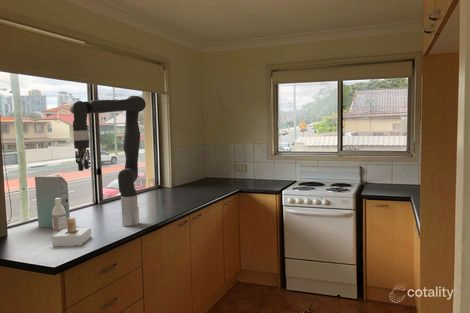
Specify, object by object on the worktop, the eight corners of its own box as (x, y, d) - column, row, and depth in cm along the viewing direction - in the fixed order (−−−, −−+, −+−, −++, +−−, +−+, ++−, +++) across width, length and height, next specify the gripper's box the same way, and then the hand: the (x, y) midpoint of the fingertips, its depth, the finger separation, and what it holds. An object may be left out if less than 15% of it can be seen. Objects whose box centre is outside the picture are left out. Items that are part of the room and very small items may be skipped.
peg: (78, 240, 197) (76, 217, 196) (75, 242, 193) (73, 219, 192) (70, 240, 196) (68, 217, 195) (67, 243, 192) (65, 219, 191)
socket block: (91, 237, 202) (90, 227, 201) (81, 245, 188) (80, 235, 187) (64, 238, 201) (63, 228, 201) (52, 246, 187) (51, 236, 187)
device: (70, 224, 229) (67, 175, 226) (61, 228, 222) (57, 176, 219) (48, 223, 234) (44, 174, 231) (38, 226, 226) (34, 176, 224)
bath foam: (53, 233, 210) (51, 197, 208) (67, 232, 213) (64, 196, 211) (53, 237, 204) (50, 200, 202) (67, 235, 206) (65, 198, 205)
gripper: (83, 139, 195) (86, 171, 196) (92, 138, 209) (95, 168, 210) (68, 140, 194) (71, 171, 196) (78, 139, 209) (81, 168, 210)
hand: (83, 169), depth 203 cm, fingers open, 8 cm apart
